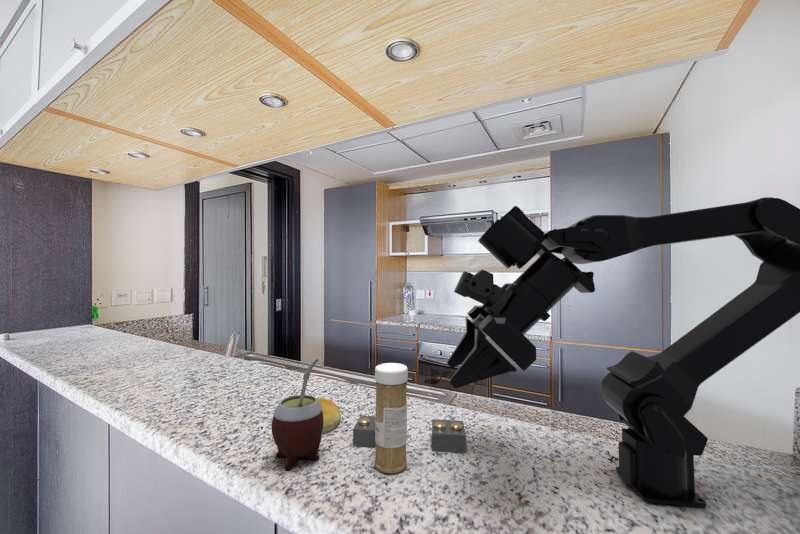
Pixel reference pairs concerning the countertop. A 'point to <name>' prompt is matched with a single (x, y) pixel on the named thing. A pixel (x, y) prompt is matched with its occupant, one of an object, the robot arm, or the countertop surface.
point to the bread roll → (329, 415)
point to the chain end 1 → (364, 432)
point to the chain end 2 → (448, 436)
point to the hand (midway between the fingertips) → (450, 374)
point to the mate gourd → (298, 426)
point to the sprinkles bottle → (391, 417)
